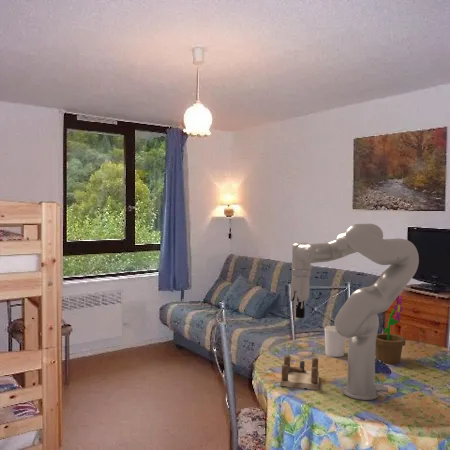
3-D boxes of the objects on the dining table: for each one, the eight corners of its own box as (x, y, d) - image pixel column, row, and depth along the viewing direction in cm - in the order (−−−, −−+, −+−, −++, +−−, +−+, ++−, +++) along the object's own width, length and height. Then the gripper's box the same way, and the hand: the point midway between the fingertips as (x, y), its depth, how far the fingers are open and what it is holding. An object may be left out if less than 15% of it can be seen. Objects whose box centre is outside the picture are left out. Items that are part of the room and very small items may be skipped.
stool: (318, 376, 188) (319, 357, 188) (318, 389, 175) (318, 369, 174) (283, 373, 191) (283, 355, 191) (280, 386, 177) (280, 366, 177)
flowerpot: (399, 368, 200) (401, 297, 198) (366, 361, 208) (368, 293, 207) (409, 359, 211) (411, 293, 210) (377, 353, 220) (379, 289, 219)
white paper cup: (321, 355, 215) (321, 329, 215) (327, 349, 224) (327, 324, 223) (342, 359, 211) (343, 332, 210) (347, 353, 219) (348, 327, 219)
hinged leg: (304, 370, 189) (304, 356, 189) (304, 372, 187) (304, 358, 187) (283, 369, 190) (284, 355, 190) (283, 371, 188) (284, 357, 187)
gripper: (299, 270, 202) (298, 313, 202) (284, 274, 189) (284, 319, 190) (316, 271, 198) (315, 315, 198) (302, 276, 185) (301, 322, 186)
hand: (300, 317), depth 194 cm, fingers closed
